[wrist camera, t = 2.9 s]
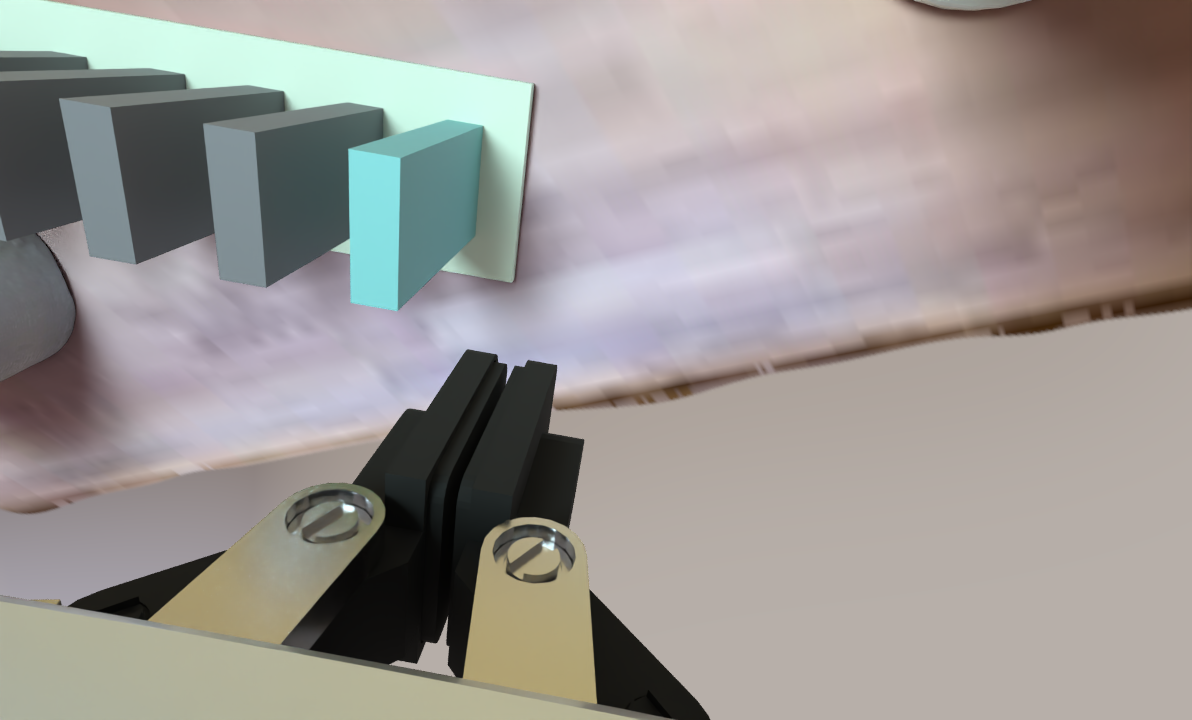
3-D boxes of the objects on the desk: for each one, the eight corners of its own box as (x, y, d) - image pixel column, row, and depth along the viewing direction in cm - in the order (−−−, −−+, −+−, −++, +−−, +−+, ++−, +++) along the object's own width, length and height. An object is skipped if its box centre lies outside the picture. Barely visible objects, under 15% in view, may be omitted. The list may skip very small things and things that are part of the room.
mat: (534, 83, 28) (531, 84, 28) (514, 278, 32) (511, 282, 31) (-88, -23, 29) (-103, -25, 28) (-33, 182, 32) (-45, 184, 32)
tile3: (283, 91, 29) (110, 107, 20) (289, 203, 31) (136, 264, 22) (248, 85, 29) (58, 98, 20) (257, 197, 31) (89, 256, 22)
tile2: (383, 108, 29) (254, 132, 20) (382, 219, 31) (266, 287, 22) (347, 102, 29) (203, 123, 20) (349, 213, 31) (219, 279, 22)
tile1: (483, 125, 28) (400, 157, 19) (475, 235, 31) (397, 310, 22) (447, 119, 28) (348, 148, 19) (442, 230, 31) (350, 302, 22)
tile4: (184, 74, 29) (-34, 82, 20) (198, 186, 31) (6, 241, 22) (149, 68, 29) (-85, 73, 20) (165, 181, 31) (-39, 233, 22)
